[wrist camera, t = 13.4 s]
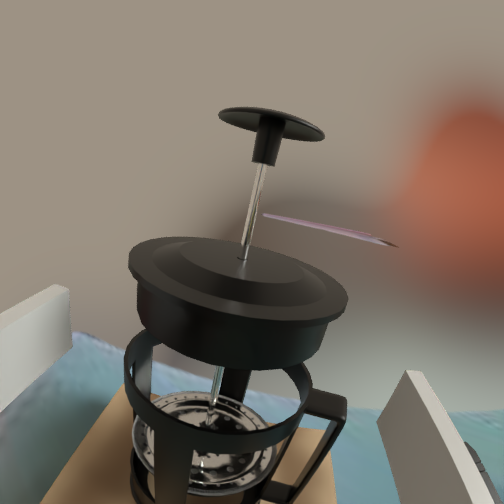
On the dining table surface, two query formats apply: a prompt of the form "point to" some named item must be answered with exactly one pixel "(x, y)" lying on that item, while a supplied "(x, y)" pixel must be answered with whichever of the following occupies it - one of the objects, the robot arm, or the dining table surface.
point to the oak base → (118, 476)
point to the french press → (228, 349)
